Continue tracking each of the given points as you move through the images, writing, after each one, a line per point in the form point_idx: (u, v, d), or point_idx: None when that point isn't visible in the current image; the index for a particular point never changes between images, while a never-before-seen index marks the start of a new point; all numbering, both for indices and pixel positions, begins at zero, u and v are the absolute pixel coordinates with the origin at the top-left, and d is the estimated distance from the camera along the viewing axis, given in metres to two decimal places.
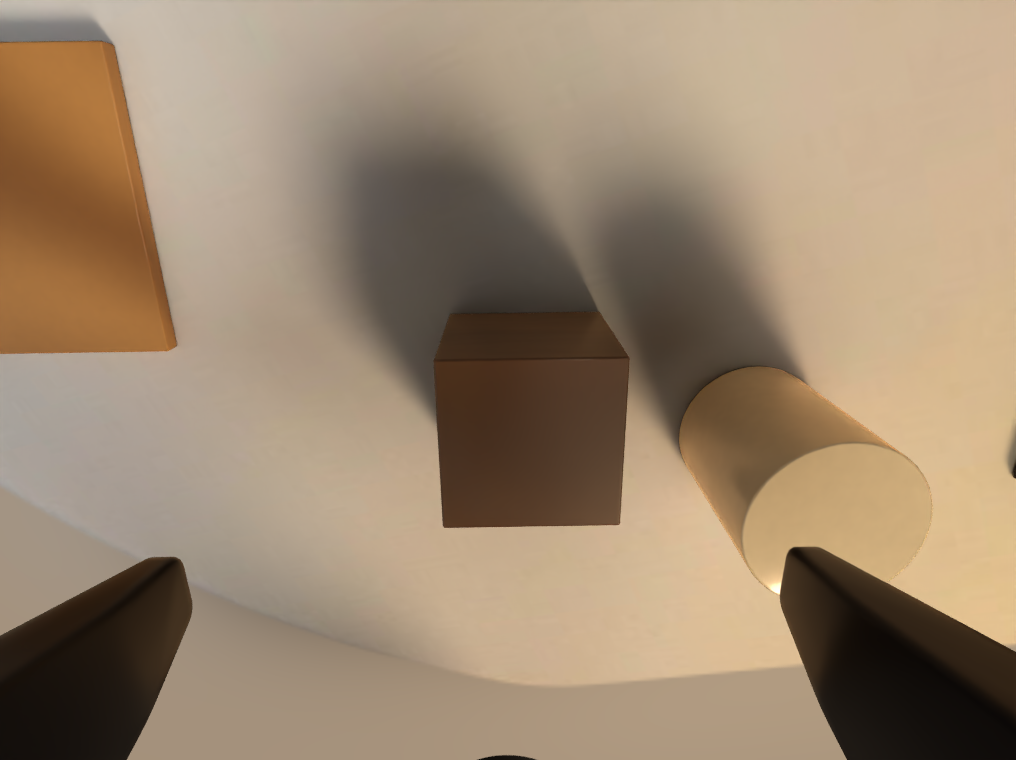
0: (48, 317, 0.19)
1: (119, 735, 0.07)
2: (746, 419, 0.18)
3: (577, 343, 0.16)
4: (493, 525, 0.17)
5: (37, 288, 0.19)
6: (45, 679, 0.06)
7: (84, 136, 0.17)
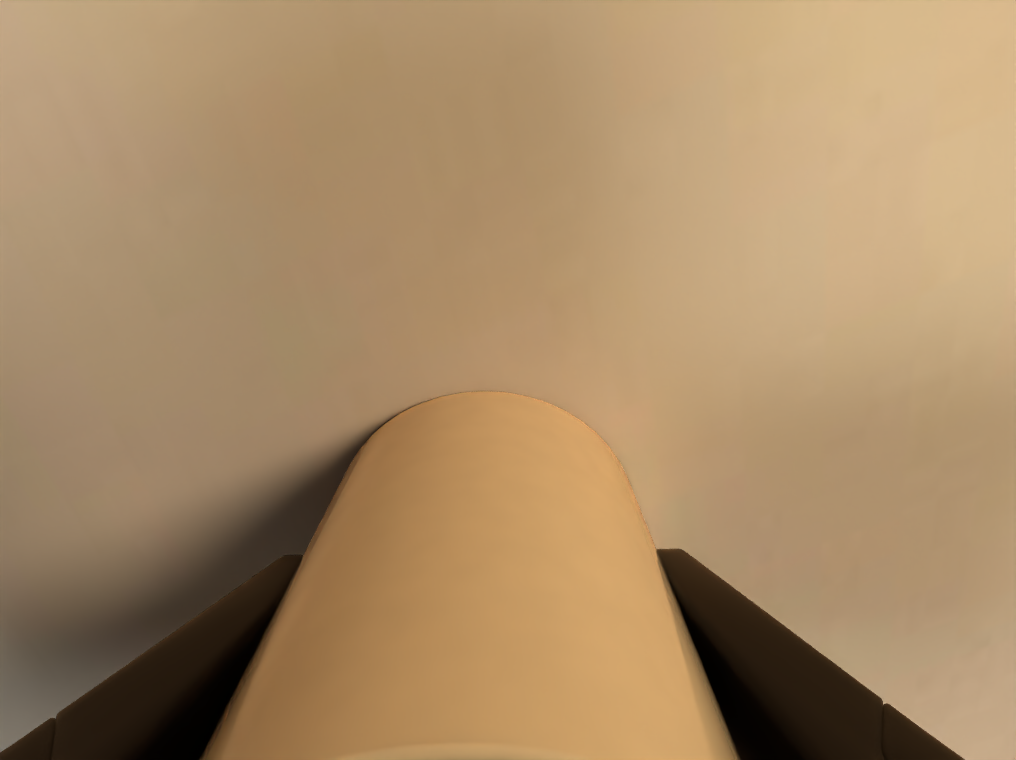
0: None
1: None
2: None
3: None
4: None
5: None
6: (223, 676, 0.06)
7: None
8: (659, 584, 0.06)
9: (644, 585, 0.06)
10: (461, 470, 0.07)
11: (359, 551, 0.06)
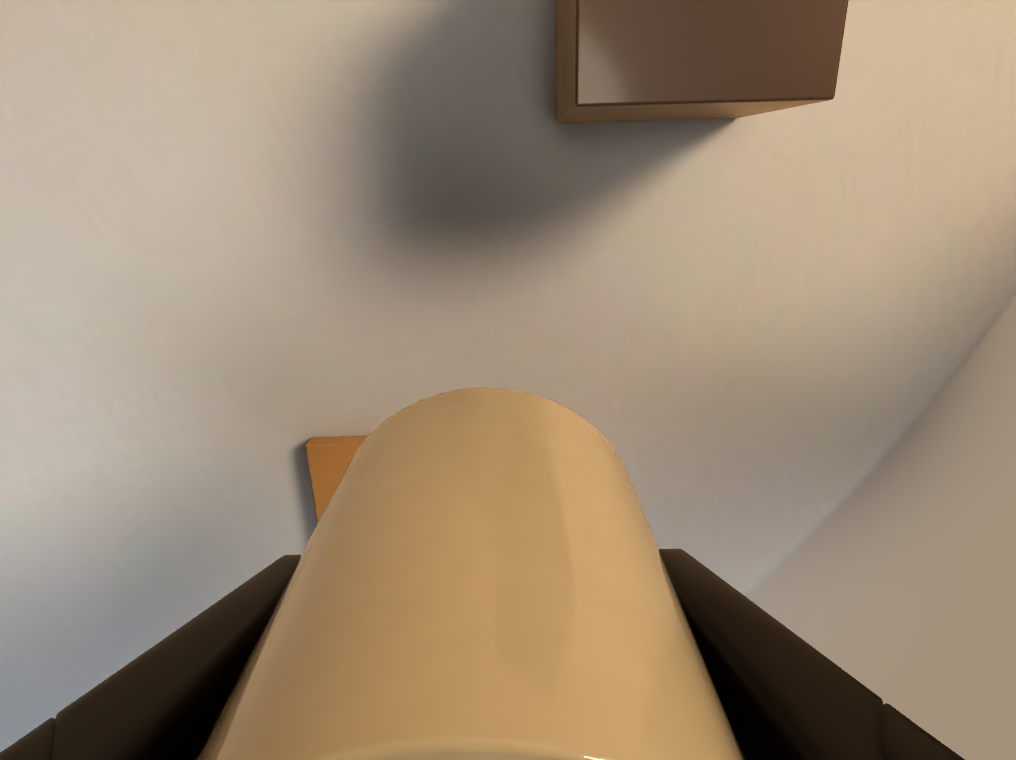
0: None
1: None
2: None
3: None
4: (843, 14, 0.11)
5: None
6: (223, 675, 0.06)
7: None
8: (660, 580, 0.06)
9: (647, 581, 0.06)
10: (462, 465, 0.07)
11: (358, 547, 0.06)
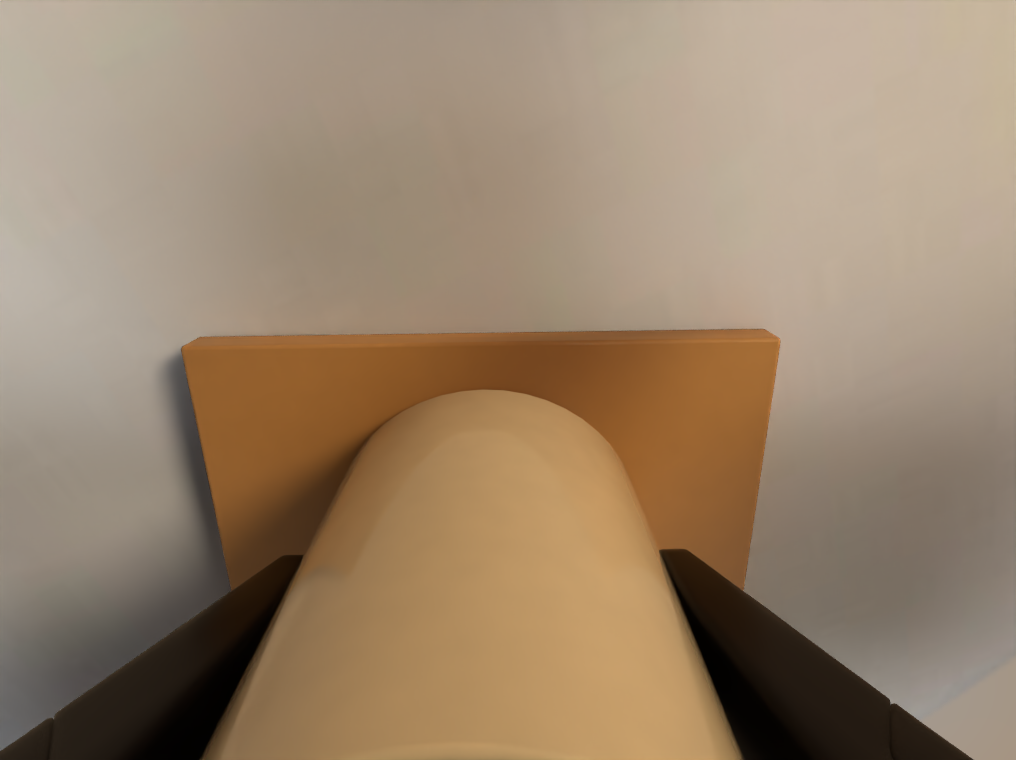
0: (681, 543, 0.10)
1: None
2: None
3: None
4: None
5: None
6: (221, 676, 0.06)
7: (350, 410, 0.09)
8: (662, 583, 0.06)
9: (647, 584, 0.06)
10: (462, 468, 0.07)
11: (360, 549, 0.06)
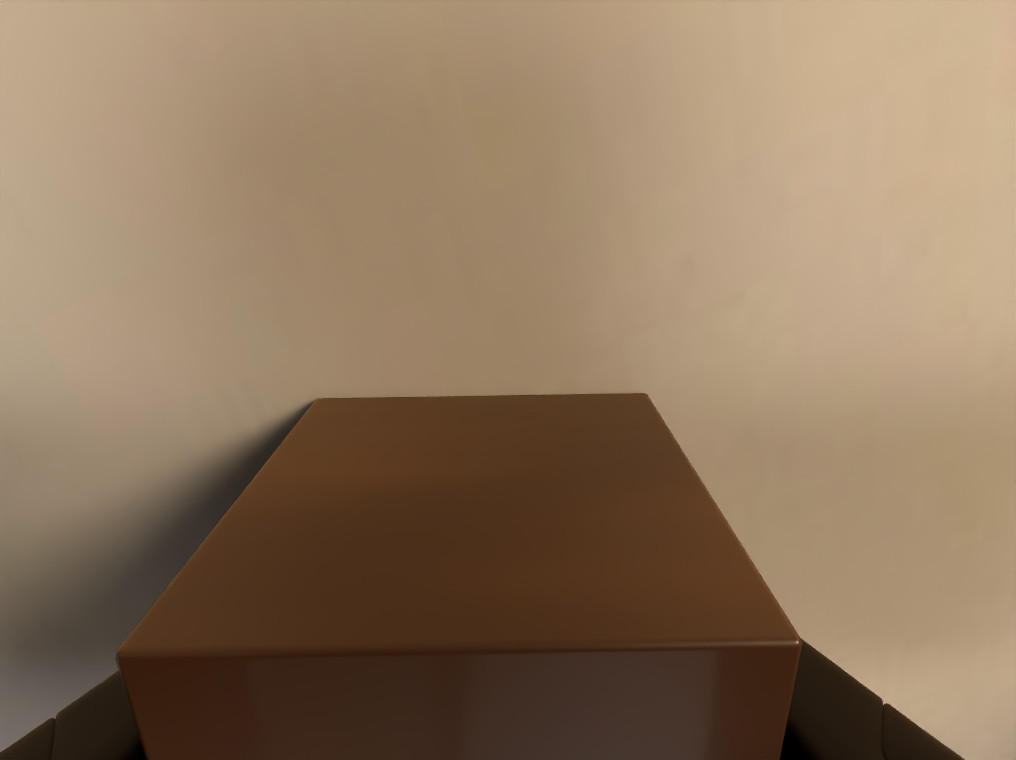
0: None
1: None
2: None
3: None
4: None
5: None
6: None
7: None
8: None
9: None
10: None
11: None
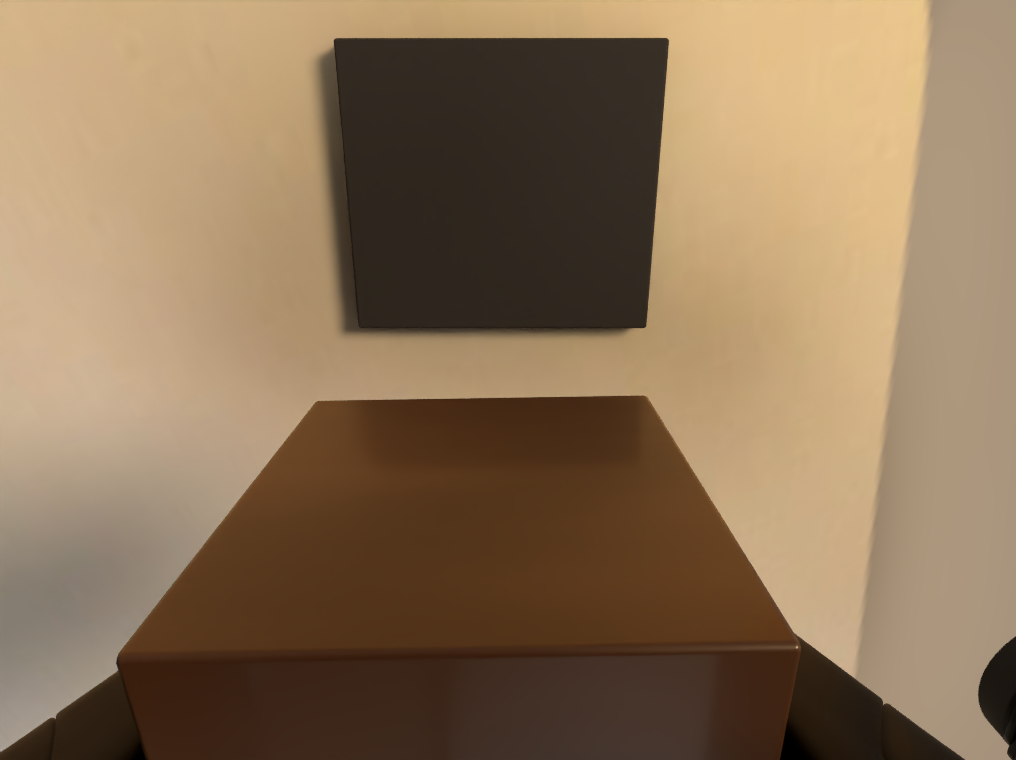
0: None
1: None
2: None
3: None
4: None
5: None
6: None
7: None
8: None
9: None
10: None
11: None
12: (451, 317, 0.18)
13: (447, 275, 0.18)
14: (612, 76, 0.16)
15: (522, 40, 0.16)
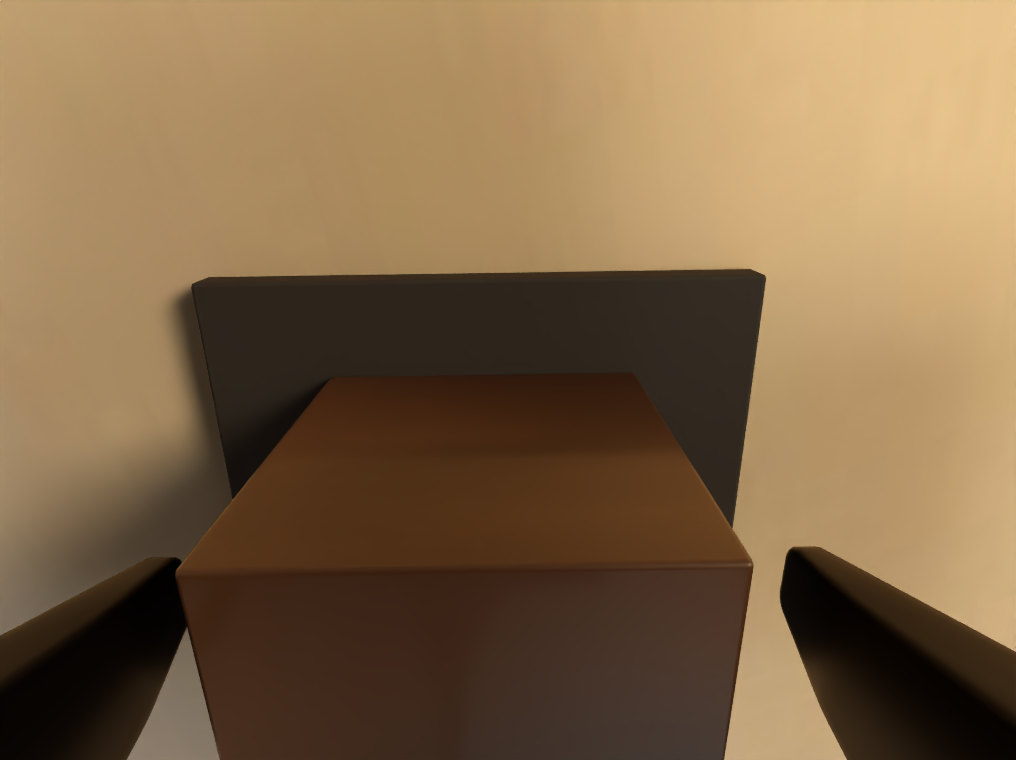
0: None
1: (118, 737, 0.07)
2: None
3: None
4: None
5: None
6: (45, 678, 0.06)
7: None
8: None
9: None
10: None
11: None
12: None
13: None
14: (669, 334, 0.10)
15: (515, 283, 0.09)
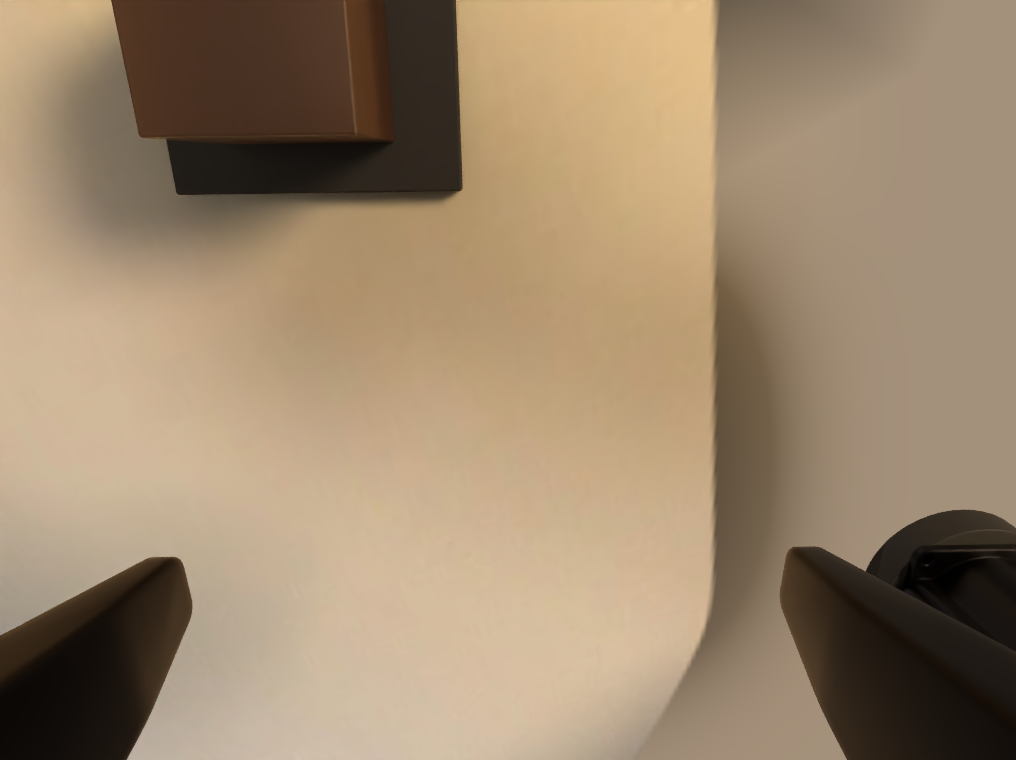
0: None
1: (118, 736, 0.07)
2: None
3: None
4: (348, 65, 0.13)
5: None
6: (45, 678, 0.06)
7: None
8: None
9: None
10: None
11: None
12: (267, 181, 0.19)
13: None
14: None
15: None
